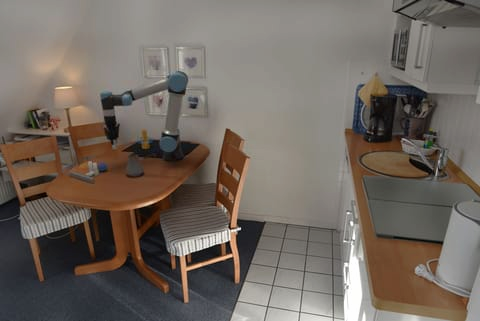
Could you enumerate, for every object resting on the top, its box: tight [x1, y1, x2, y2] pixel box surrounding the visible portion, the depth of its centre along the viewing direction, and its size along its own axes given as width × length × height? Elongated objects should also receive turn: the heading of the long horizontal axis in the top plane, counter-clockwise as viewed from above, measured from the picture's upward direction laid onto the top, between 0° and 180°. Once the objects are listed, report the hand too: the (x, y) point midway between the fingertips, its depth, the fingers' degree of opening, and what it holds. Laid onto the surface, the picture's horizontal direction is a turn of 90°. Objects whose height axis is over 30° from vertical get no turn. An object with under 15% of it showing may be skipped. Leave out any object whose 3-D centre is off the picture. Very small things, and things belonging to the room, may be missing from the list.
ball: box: [97, 161, 108, 172], centre depth 227 cm, size 6×6×6 cm
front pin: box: [84, 170, 100, 177], centre depth 221 cm, size 2×2×8 cm
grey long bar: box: [68, 171, 96, 184], centre depth 215 cm, size 24×2×2 cm, turn 58°
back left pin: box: [92, 162, 99, 177], centre depth 219 cm, size 2×2×8 cm
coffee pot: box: [125, 153, 157, 177], centre depth 218 cm, size 21×12×15 cm, turn 82°
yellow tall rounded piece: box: [137, 129, 154, 150], centre depth 274 cm, size 12×10×15 cm
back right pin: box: [87, 160, 94, 173], centre depth 222 cm, size 2×2×8 cm
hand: (114, 148), depth 232 cm, fingers closed
